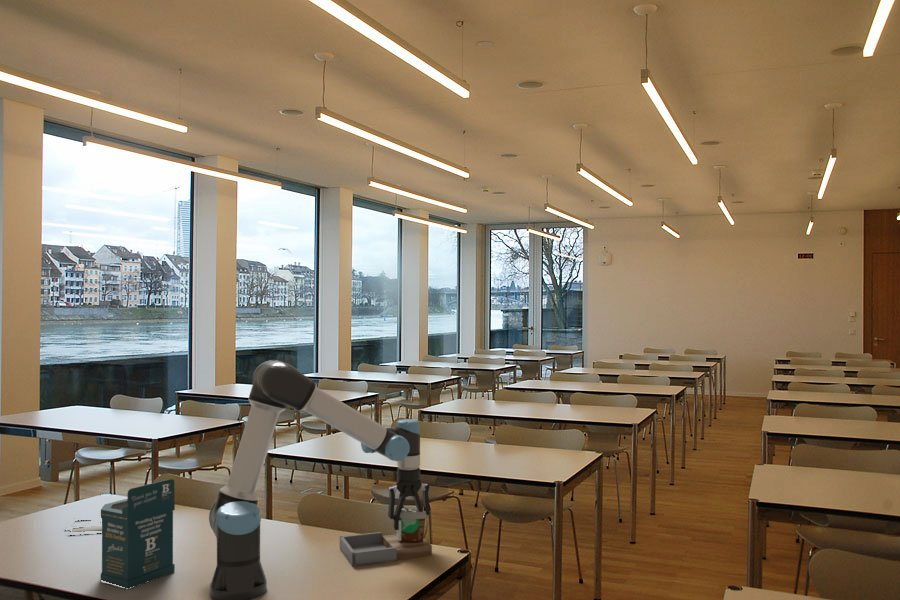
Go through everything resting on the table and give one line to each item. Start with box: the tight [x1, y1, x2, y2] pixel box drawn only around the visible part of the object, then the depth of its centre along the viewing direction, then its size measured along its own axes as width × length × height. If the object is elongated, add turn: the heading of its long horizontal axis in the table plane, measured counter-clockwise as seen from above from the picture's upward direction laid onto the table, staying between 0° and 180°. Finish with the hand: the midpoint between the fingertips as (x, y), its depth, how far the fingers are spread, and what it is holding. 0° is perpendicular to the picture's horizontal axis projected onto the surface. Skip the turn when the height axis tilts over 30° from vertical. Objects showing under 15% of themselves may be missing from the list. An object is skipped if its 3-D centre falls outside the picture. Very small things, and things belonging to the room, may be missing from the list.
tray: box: [339, 531, 398, 567], centre depth 233 cm, size 18×14×4 cm
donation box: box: [100, 478, 176, 588], centre depth 216 cm, size 16×16×28 cm
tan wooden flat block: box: [382, 533, 433, 561], centre depth 238 cm, size 16×12×3 cm
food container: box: [399, 504, 428, 543], centre depth 238 cm, size 12×6×10 cm, turn 43°
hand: (409, 538), depth 238 cm, fingers closed on food container, 6 cm apart
